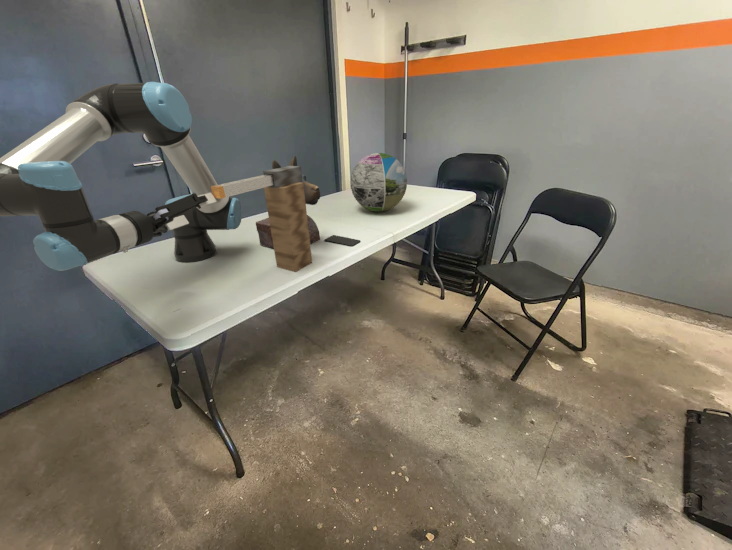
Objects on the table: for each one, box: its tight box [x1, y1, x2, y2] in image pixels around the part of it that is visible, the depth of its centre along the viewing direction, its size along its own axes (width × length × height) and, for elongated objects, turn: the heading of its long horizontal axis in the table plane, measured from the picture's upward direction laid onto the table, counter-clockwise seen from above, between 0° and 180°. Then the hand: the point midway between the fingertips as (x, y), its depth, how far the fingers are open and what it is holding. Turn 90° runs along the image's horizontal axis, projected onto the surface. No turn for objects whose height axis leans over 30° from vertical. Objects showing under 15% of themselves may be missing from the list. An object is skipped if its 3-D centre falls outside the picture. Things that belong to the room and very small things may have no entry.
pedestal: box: [262, 165, 313, 273], centre depth 113 cm, size 12×9×34 cm
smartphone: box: [323, 234, 362, 248], centre depth 140 cm, size 7×1×15 cm
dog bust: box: [255, 155, 321, 249], centre depth 130 cm, size 19×28×35 cm, turn 57°
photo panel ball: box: [350, 152, 408, 213], centre depth 174 cm, size 30×30×30 cm
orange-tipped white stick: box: [211, 174, 275, 199], centre depth 96 cm, size 23×3×3 cm, turn 148°
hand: (199, 208), depth 91 cm, fingers open, 13 cm apart
